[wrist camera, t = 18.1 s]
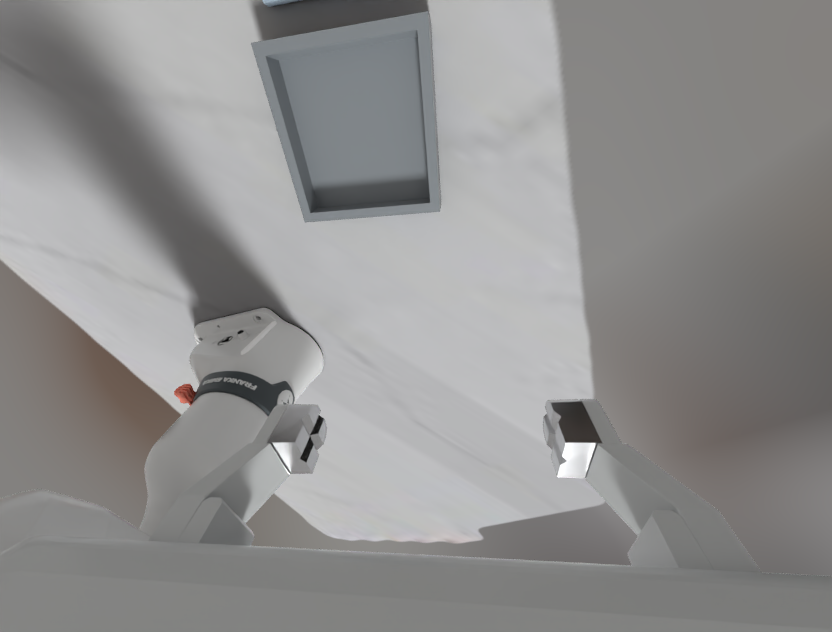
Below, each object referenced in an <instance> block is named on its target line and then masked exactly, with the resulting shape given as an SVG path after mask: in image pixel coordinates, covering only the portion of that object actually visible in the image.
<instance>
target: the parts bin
mask: <svg viewBox="0 0 832 632" xmlns="http://www.w3.org/2000/svg"><path fill="white" fill-rule="evenodd" d="M251 45H252V48H253V52H254V55H255V58H256V61H257V65H258V68H259V71H260V75H261V78H262V81H263V85H264V88H265V91H266V95H267V98H268V101H269V105H270V108H271V111H272V115H273V118H274V121H275V125H276V128H277V131H278V135H279V138H280V141H281V144H282V148H283V151H284V154H285V158H286V161H287V164H288V168H289V171H290V174H291V178H292V181H293V184H294V188H295V191H296V194H297V198H298V201H299V204H300V208H301V211H302V214H303V218H304V221H305V222H316V221H328V220H341V219H353V218H366V217H378V216H391V215H404V214H416V213H429V212H440V208H441V192H440V174H439V156H438V139H437V121H436V103H435V85H434V68H433V50H432V32H431V21H430V17H429V13H428V11H426V12H420V13H415V14H409V15H404V16H398V17H393V18H387V19H381V20H376V21H370V22H365V23H359V24H354V25H348V26H343V27H337V28H332V29H326V30H321V31H315V32H309V33H304V34H298V35H293V36H287V37H282V38H276V39H271V40H265V41H260V42H254V43H251Z"/></svg>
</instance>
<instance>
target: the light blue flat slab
mask: <svg viewBox="0 0 832 632" xmlns="http://www.w3.org/2000/svg"><path fill="white" fill-rule="evenodd" d="M296 1H301V0H263V3H264V4H265V5H267V6H268V7H271V6H276V5H281V4H286V3H291V2H296Z"/></svg>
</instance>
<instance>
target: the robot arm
mask: <svg viewBox="0 0 832 632" xmlns="http://www.w3.org/2000/svg"><path fill="white" fill-rule="evenodd" d="M194 336H195V340H196V343H197V346H196V347H195V348H194V349H193V350H192V352H191V354H190V366H191V369H192V371H193V373H194V375H195V377H196V379H197V381H198V383H199V387H198V389H197V392H194V391H193V388H192V386H191V385H190V384H184V385H182V386H180V387H178V388H177V389H176V390H175V391H174V392H175V393H174V394H175V395H176V396H177V397H178V398H179V399H180V402H181V403H189V405H190V407H189V408H188V409H187V410H186V411H185V412H184V413H183V414H182V415H181V416H180V417H179V419H178V420H177V421H176V422H175V423H174V424H173V425H172V426H171V427H170V428H169V429H168V430H167V431H166V432H165V434H164V435H163V436H162V437H161V438H160V439H159V440H158V441H157V442H156V443H155V445H154V446H153V447H152V449H151V451H150V453H149V455H148V458H147V460H146V464H145V479H146V484H147V491H148V501H147V507H146V511H145V515H144V518H143V521H142V523H141V526H140V528H139V529H138V528H137V527H135V526H134V525H132V524H130V523H129V522H127V521H125V520H124V519H122V518H121V517H119V516H117V515H116V514H114V513H113V512H111V511H109V510H108V509H106V508H105V507H103V506H100V505H97V504H94V503H91V502H88V501H84V500H81V499H78V498H74V497H71V496H67V495H63V494H59V493H55V492H51V491H48V490H43V489H36V490H30V491H25V492H20V493H16V494H13V495H9V496H6V497H3V498H0V632H832V576H819V575H801V574H782V573H781V574H780V573H763V572H761V570H760V569H759V567H758V566H757V565H756V563H755V562H754V560H753V559H752V558H751V556H750V555H749V553H748V552H747V550H746V549H745V548H744V546H743V545H742V543H741V542H740V540H739V539H738V538H737V536H736V535H735V533H734V532H733V530H732V529H731V528H730V526H729V525H728V523H727V522H726V520H725V519H724V517H723V516H722V515H721V513H720V512H719V511H718V510H717V509H716V508H714V507H713V506H712V505H710V504H709V503H708V502H706V501H705V500H704V499H702V498H701V497H699V496H698V495H697V494H695V493H694V492H693V491H691V490H690V489H689V488H687V487H686V486H685V485H683V484H682V483H680V482H679V481H678V480H676V479H675V478H674V477H672V476H671V475H670V474H668V473H667V472H665V471H664V470H663V469H661V468H660V467H659V466H657V465H656V464H655V463H653V462H652V461H651V460H649V459H648V458H647V457H645V456H644V455H642V454H641V453H640V452H638V451H637V450H636V449H634V448H633V447H632V446H630V445H629V444H622V442H621V440H620V438H619V437H618V435H617V433H616V431H615V429H614V427H613V426H612V424H611V422H610V420H609V418H608V417H607V415H606V413H605V411H604V410H603V408H602V406H601V404H600V403H599V401H598V400H597V399H580V400H578V399H567V400H547V402H546V406H545V409H546V412H547V414H546V415H545V416H544V418H543V432H544V436H545V440H546V443H547V445H548V446H549V447H550V448H551V449H552V454H551V459H552V463H553V466H554V469H555V472H556V475H557V477H564V478H586V481H587V482H588V483H589V484H590V485H591V486H592V487H593V488H594V489H595V491H596V492H597V493H598V494H599V495H600V496H601V497H602V498H603V499H604V500H605V501H606V502H607V503H608V504H609V505H610V507H611V508H612V509H613V510H614V511H615V512H616V513H617V514H618V515H619V516H620V517H621V518H622V519H623V520H624V522H625V523H626V524H628V526H629V527H630V528H631V529H632V530H633V531H634V532H635V533H636V534H637V535H638V537H637V539H636V541H635V542H634V544H633V545H632V547H631V549H630V550H629V552H628V554H627V555H628V557H629V560H630V562H631V565H632V566H628V565H608V564H589V563H571V562H551V561H533V560H532V561H531V560H514V559H494V558H475V557H455V556H437V555H418V554H397V553H378V552H359V551H341V550H339V551H338V550H321V549H320V550H319V549H302V548H281V547H263V546H251V543H252V541H253V539H254V533H253V532H252V531H251V529H250V528H249V527H248V526H247V525H246V524H245V523H246V522H247V521H248V520H249V519H250V518H251V517H252V516H253V515H254V514H255V513H256V512H257V510H258V509H259V508H260V507H261V506H262V505H263V504H264V503H265V502H266V501H267V500H268V498H269V497H270V496H271V495H272V494H273V493H274V492H275V491H276V490H277V489H278V488H279V487H280V485H281V484H282V483H283V482H284V481H285V480H286V479H287V478H288V477H289V476H290V474H305V473H313V470H314V467H315V465H316V462H317V460H318V457H319V454H318V451H317V450H318V449H319V448H320V447H321V446H322V445H323V444H324V441H325V438H326V432H327V427H326V422H325V419H324V418H322V417H321V416H320V415H319V414H320V411H321V410H320V408H319V406H318V405H301V404H294V403H295V402H296V400H297V399H298V398H299V396H300V395H301V394H302V393H303V392H304V390H305V389H306V388H307V387H308V385H309V384H310V383H311V382H312V381H313V380H314V379H315V378H316V377H317V376H319V374H320V373H321V371H322V369H323V364H324V360H323V355H322V352H321V350H320V348H319V347H318V345H317V344H316V342H315V341H314V340H313V339H312V338H311V337H310V336H309V335H308V334H307V333H305V332H304V331H303V330H301V329H299V328H298V327H296V326H294V325H292V324H290V323H287V322H285V321H284V320H282V319H281V318H280V317H279V316H277V315H276V314H275V313H274V312H273V311H271V310H270V309H267V308H260V309H256V310H252V311H247V312H243V313H239V314H235V315H231V316H226V317H222V318H218V319H214V320H209V321H205V322H201V323H199V324H197V325H196V326H195V328H194Z"/></svg>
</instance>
